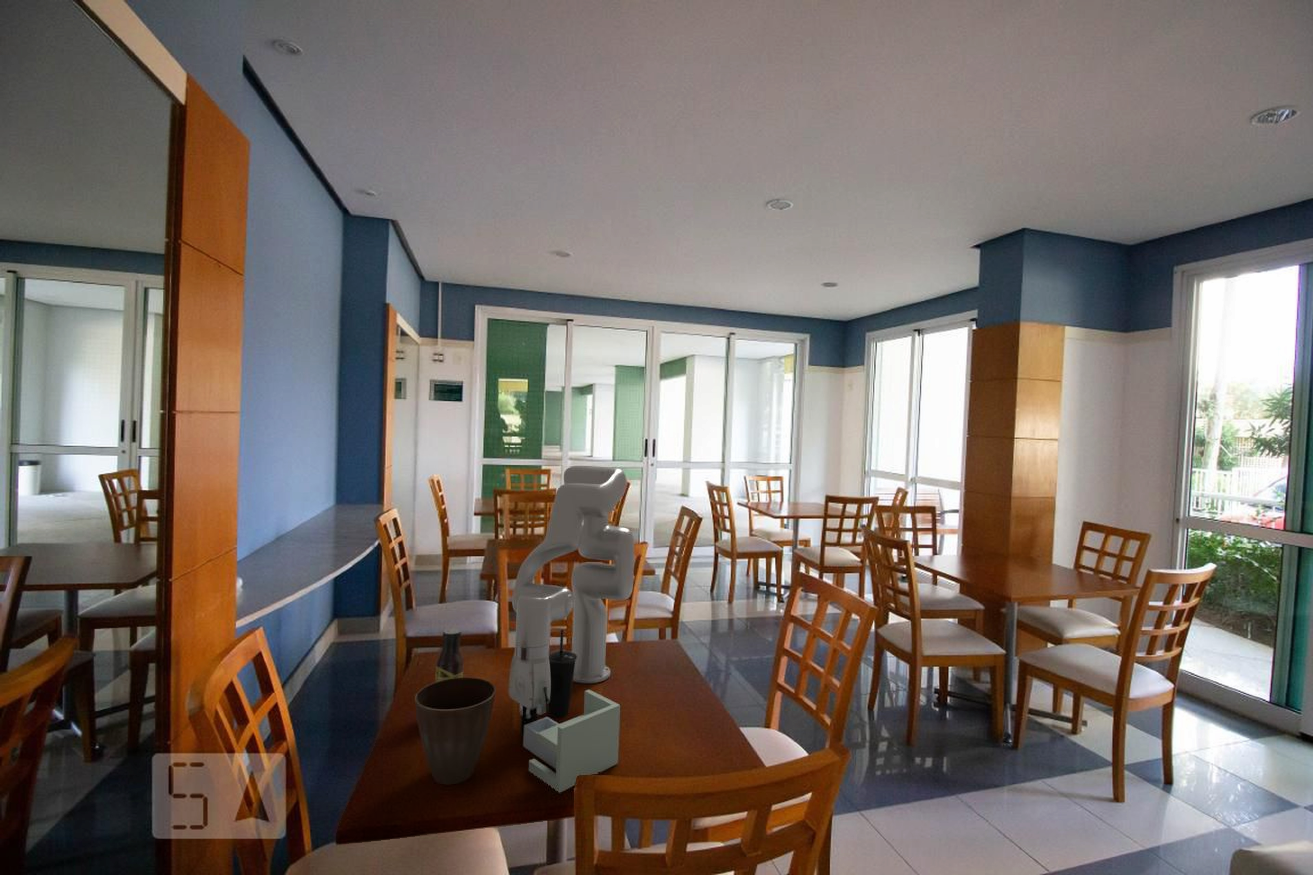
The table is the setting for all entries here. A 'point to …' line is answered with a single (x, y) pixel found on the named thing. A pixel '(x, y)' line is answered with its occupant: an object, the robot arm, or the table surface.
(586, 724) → the shelf slot
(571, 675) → the drinking cup
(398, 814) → the table surface
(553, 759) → the tray
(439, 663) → the sauce bottle
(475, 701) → the plant pot
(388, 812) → the table surface
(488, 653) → the table surface
